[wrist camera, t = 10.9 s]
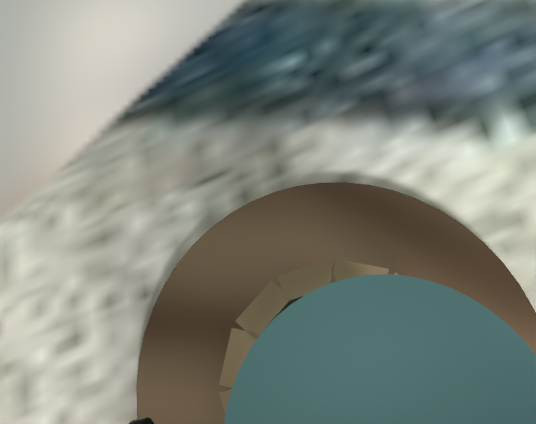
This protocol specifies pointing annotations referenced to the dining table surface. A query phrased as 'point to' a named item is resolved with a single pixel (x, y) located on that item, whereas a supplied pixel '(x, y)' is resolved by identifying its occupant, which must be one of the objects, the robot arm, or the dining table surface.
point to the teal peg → (385, 360)
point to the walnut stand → (298, 283)
